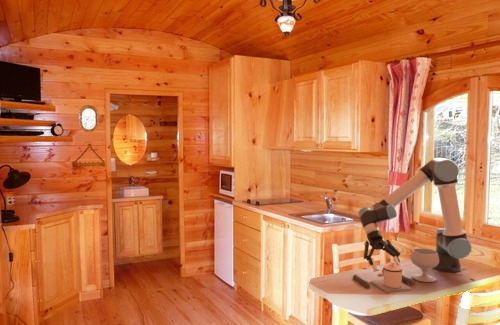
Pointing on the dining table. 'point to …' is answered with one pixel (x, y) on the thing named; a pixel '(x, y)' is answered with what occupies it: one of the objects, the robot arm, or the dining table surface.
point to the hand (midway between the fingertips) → (387, 269)
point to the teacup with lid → (392, 275)
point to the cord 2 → (407, 280)
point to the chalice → (424, 263)
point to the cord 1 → (361, 281)
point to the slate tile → (387, 289)
